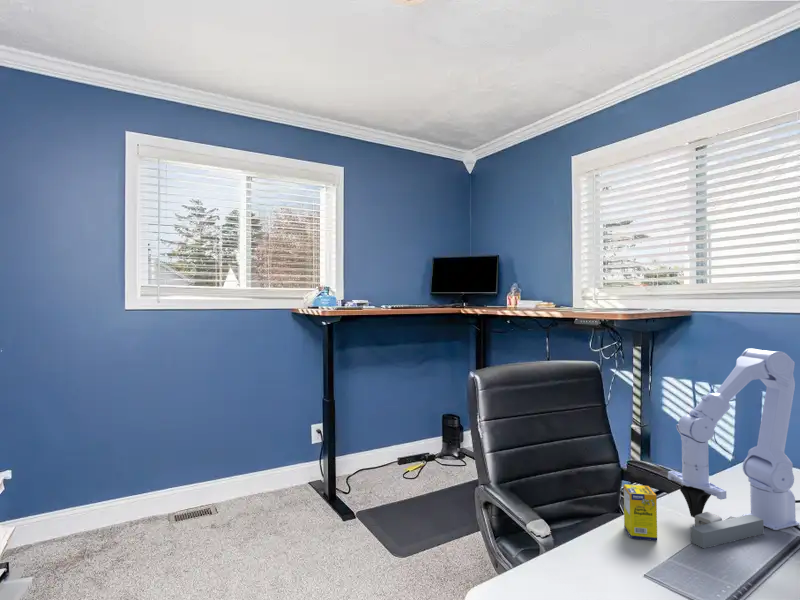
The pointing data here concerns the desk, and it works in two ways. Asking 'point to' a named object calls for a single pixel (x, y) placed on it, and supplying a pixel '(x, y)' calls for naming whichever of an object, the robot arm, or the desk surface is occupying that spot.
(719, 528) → the slate rail
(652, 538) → the supplement box
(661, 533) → the desk surface
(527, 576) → the desk surface
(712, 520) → the usb wall charger
